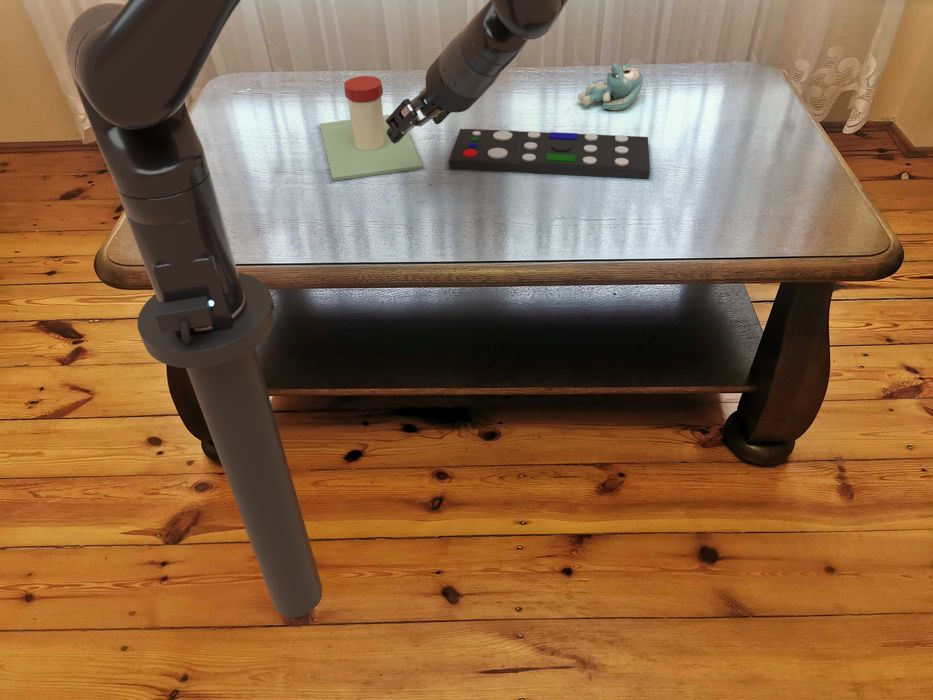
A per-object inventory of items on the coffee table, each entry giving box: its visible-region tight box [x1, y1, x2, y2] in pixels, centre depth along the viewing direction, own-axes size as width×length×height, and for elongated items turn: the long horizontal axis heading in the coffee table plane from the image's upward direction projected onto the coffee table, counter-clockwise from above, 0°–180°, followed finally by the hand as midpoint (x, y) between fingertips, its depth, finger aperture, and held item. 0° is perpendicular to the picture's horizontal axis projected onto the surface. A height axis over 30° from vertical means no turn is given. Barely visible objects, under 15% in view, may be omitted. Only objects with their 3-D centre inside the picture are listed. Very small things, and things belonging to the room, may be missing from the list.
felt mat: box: [319, 114, 424, 182], centre depth 122 cm, size 20×14×1 cm
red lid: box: [343, 75, 384, 102], centre depth 116 cm, size 6×6×2 cm
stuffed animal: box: [577, 62, 644, 111], centre depth 131 cm, size 11×7×12 cm
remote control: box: [448, 128, 651, 180], centre depth 117 cm, size 11×30×2 cm, turn 81°
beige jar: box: [347, 96, 386, 151], centre depth 119 cm, size 5×5×10 cm
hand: (413, 127), depth 112 cm, fingers open, 8 cm apart
